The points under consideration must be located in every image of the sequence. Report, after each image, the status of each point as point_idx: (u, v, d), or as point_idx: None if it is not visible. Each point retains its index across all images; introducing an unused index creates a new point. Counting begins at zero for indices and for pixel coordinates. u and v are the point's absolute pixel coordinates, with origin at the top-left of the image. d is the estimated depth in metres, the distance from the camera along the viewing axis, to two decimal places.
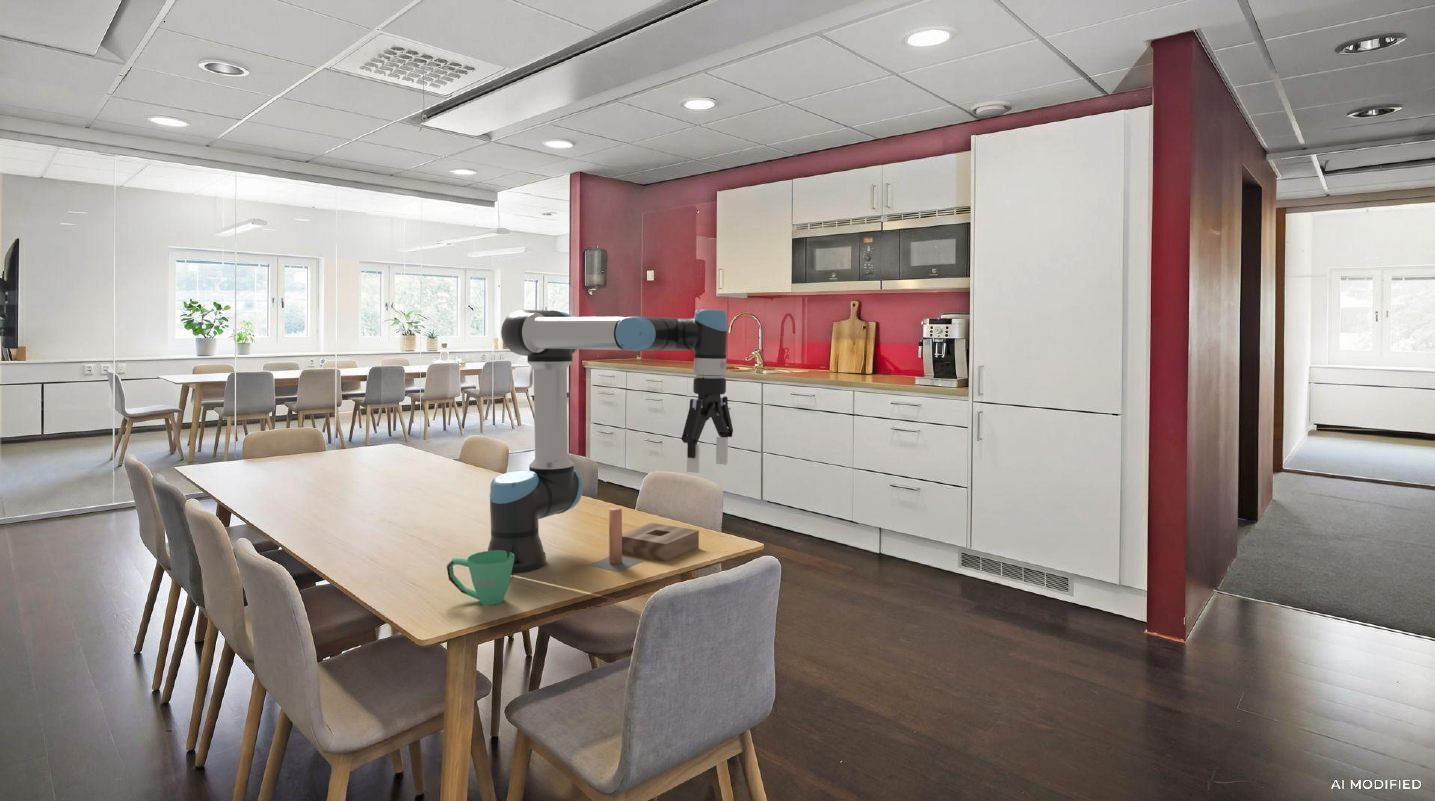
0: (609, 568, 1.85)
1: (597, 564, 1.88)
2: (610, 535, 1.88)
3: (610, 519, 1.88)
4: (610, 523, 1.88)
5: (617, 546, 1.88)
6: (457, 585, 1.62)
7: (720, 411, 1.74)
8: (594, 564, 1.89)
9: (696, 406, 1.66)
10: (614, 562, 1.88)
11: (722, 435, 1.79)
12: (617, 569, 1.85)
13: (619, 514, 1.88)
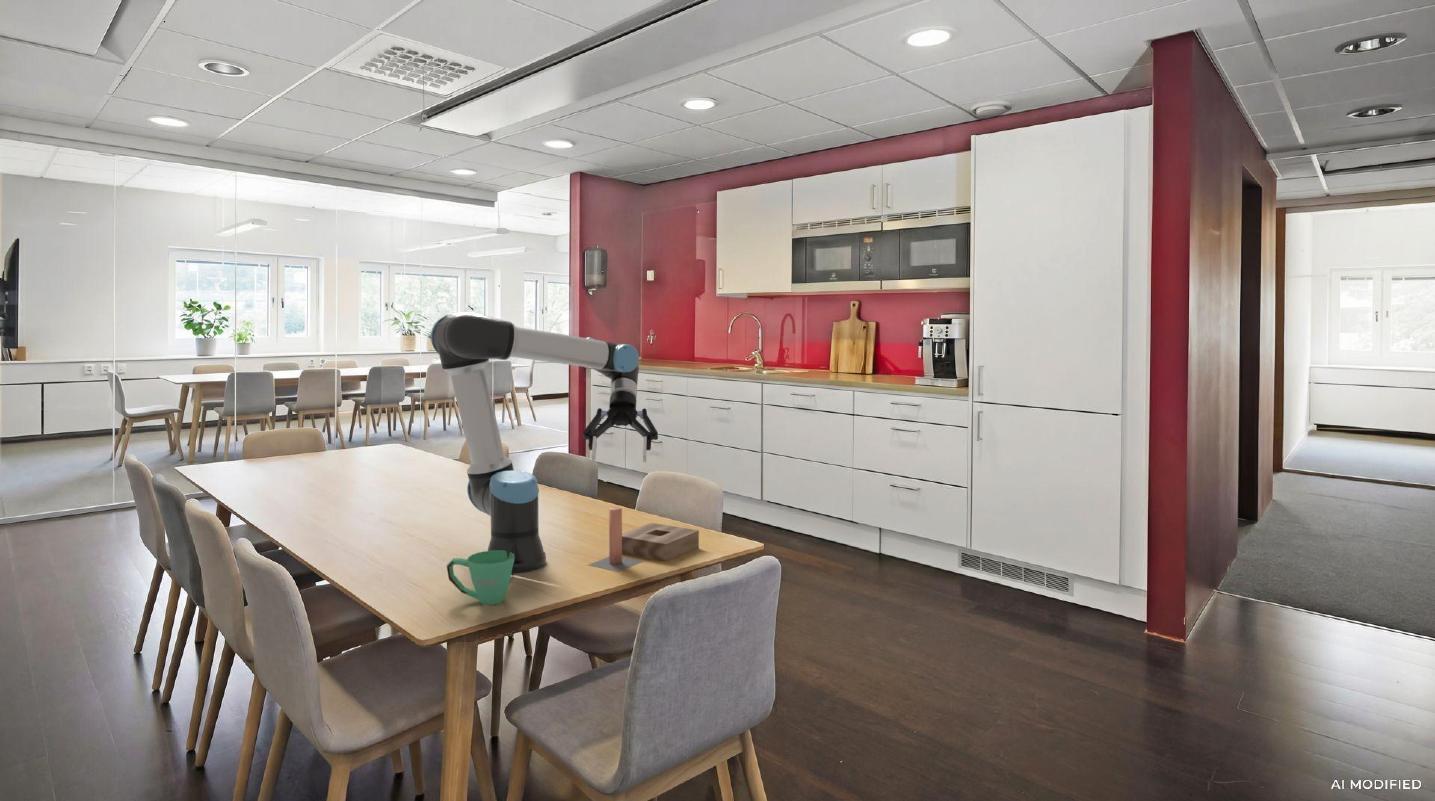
0: (609, 568, 1.85)
1: (597, 564, 1.88)
2: (610, 535, 1.88)
3: (610, 519, 1.88)
4: (610, 523, 1.88)
5: (617, 546, 1.88)
6: (457, 585, 1.62)
7: None
8: (594, 564, 1.89)
9: None
10: (614, 562, 1.88)
11: None
12: (617, 569, 1.85)
13: (619, 514, 1.88)
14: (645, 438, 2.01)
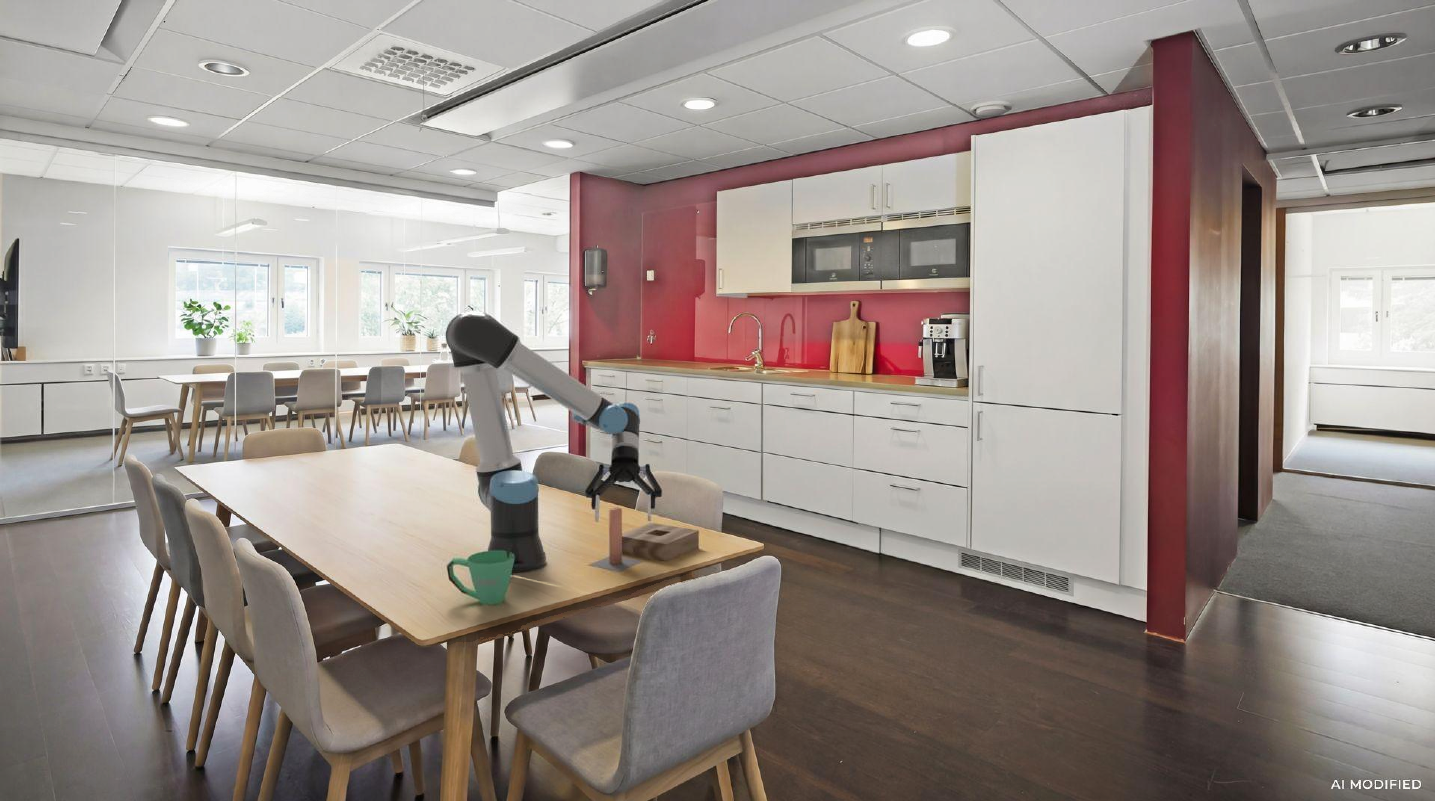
0: (609, 568, 1.85)
1: (597, 564, 1.88)
2: (610, 535, 1.88)
3: (610, 519, 1.88)
4: (610, 523, 1.88)
5: (617, 546, 1.88)
6: (457, 585, 1.62)
7: None
8: (594, 564, 1.89)
9: None
10: (614, 562, 1.88)
11: None
12: (617, 569, 1.85)
13: (619, 514, 1.88)
14: (649, 496, 1.97)
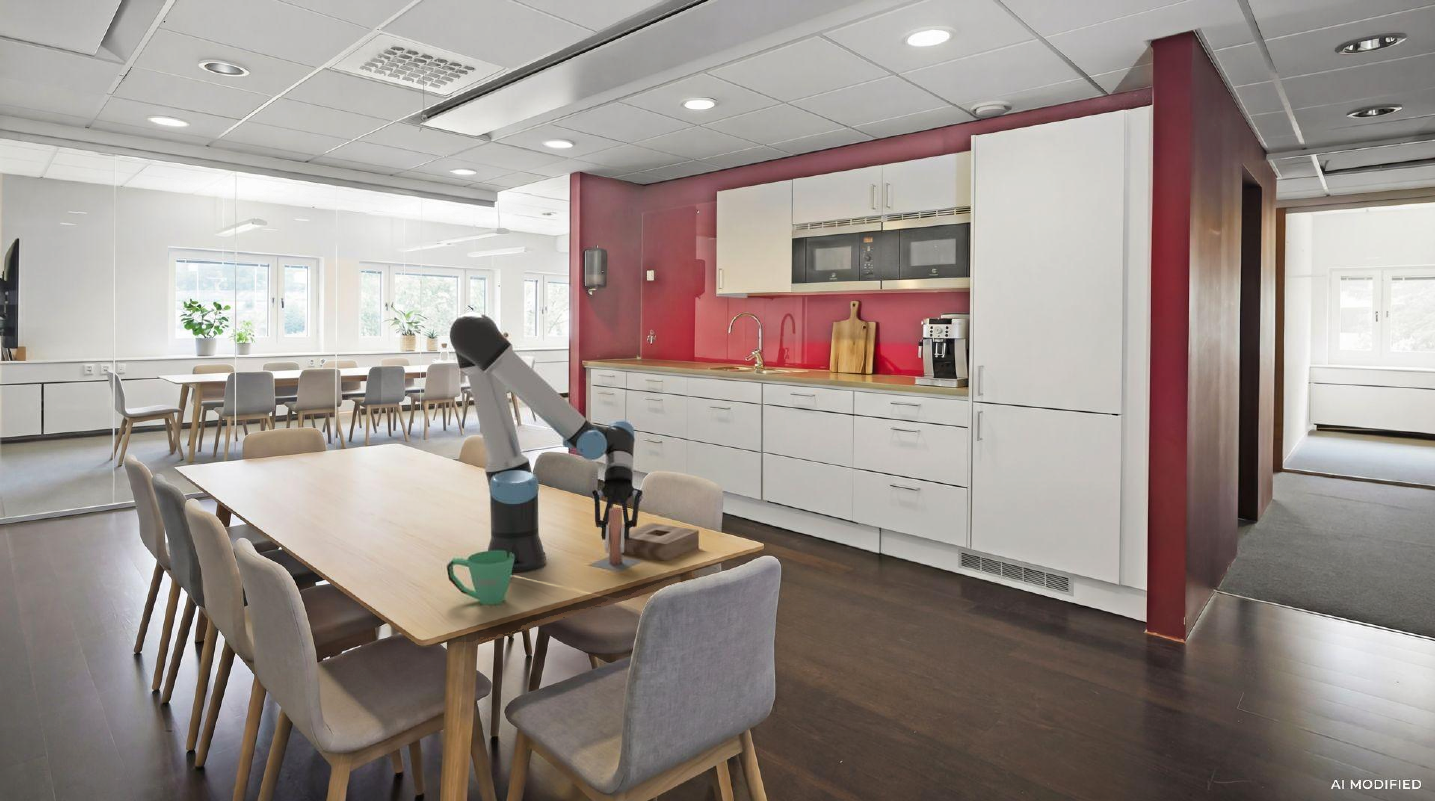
0: (609, 568, 1.85)
1: (597, 564, 1.88)
2: (610, 535, 1.88)
3: (610, 519, 1.88)
4: (610, 523, 1.88)
5: (617, 546, 1.88)
6: (457, 585, 1.62)
7: None
8: (594, 564, 1.89)
9: (640, 498, 1.96)
10: (614, 562, 1.88)
11: None
12: (617, 569, 1.85)
13: (619, 514, 1.88)
14: (623, 526, 1.88)
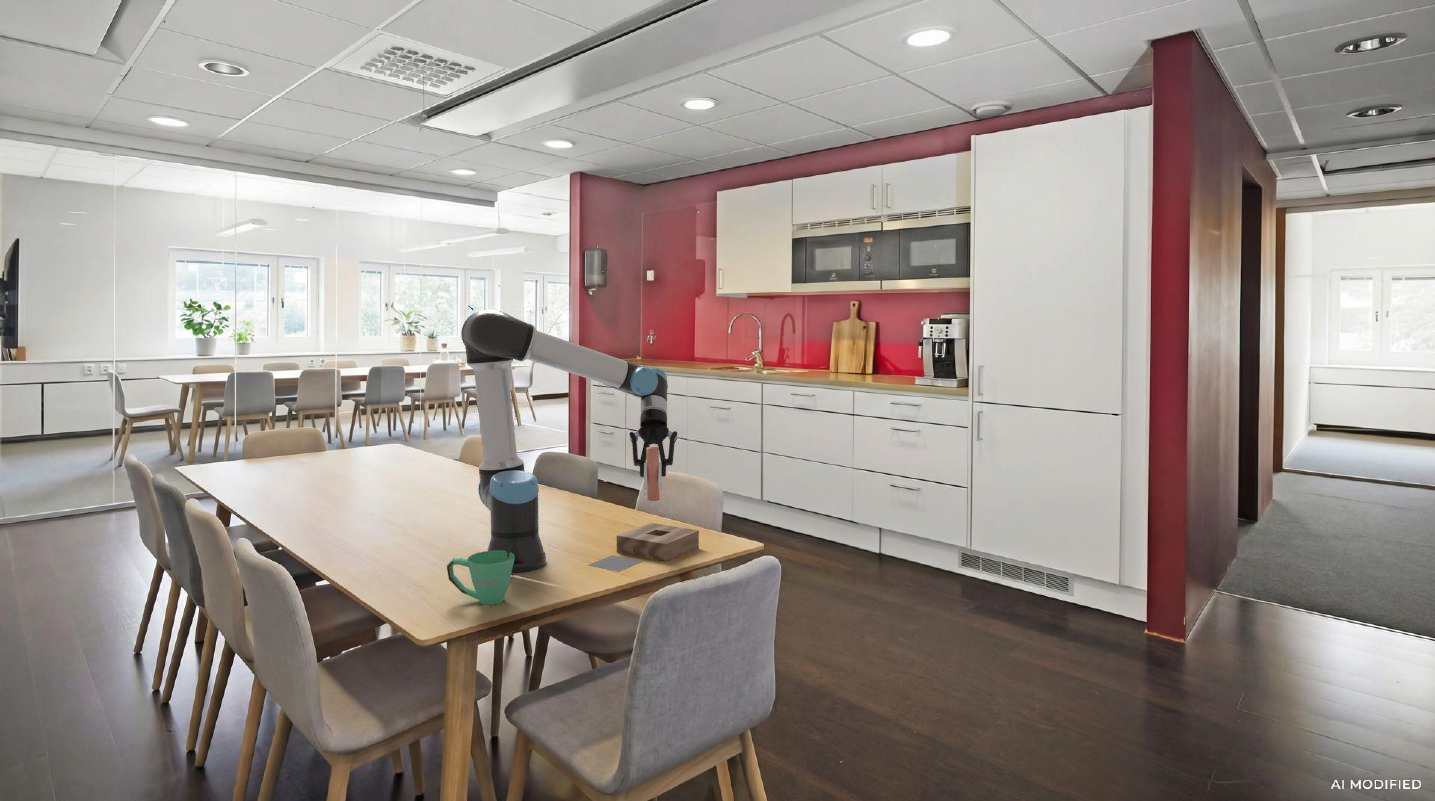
0: (609, 568, 1.85)
1: (597, 564, 1.88)
2: (648, 472, 1.97)
3: (648, 457, 1.97)
4: (648, 461, 1.97)
5: (654, 483, 1.97)
6: (457, 585, 1.62)
7: None
8: (594, 564, 1.89)
9: (675, 439, 2.05)
10: (652, 498, 1.97)
11: None
12: (617, 569, 1.85)
13: (656, 452, 1.97)
14: (660, 464, 1.97)
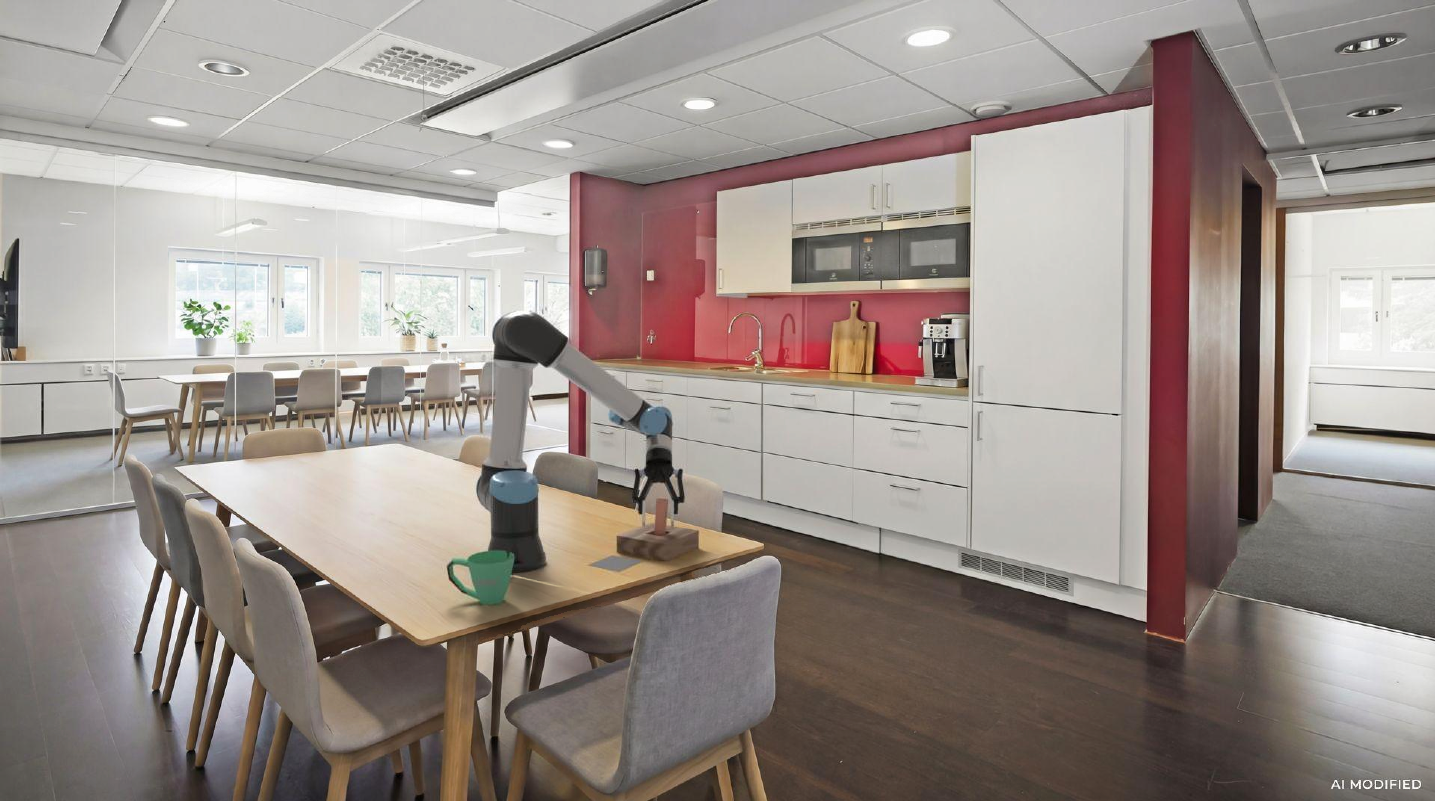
0: (609, 568, 1.85)
1: (597, 564, 1.88)
2: (656, 524, 2.01)
3: (657, 509, 2.01)
4: (656, 512, 2.01)
5: (661, 535, 2.01)
6: (457, 585, 1.62)
7: None
8: (594, 564, 1.89)
9: (681, 476, 2.09)
10: None
11: None
12: (617, 569, 1.85)
13: (665, 504, 2.01)
14: (672, 502, 2.01)
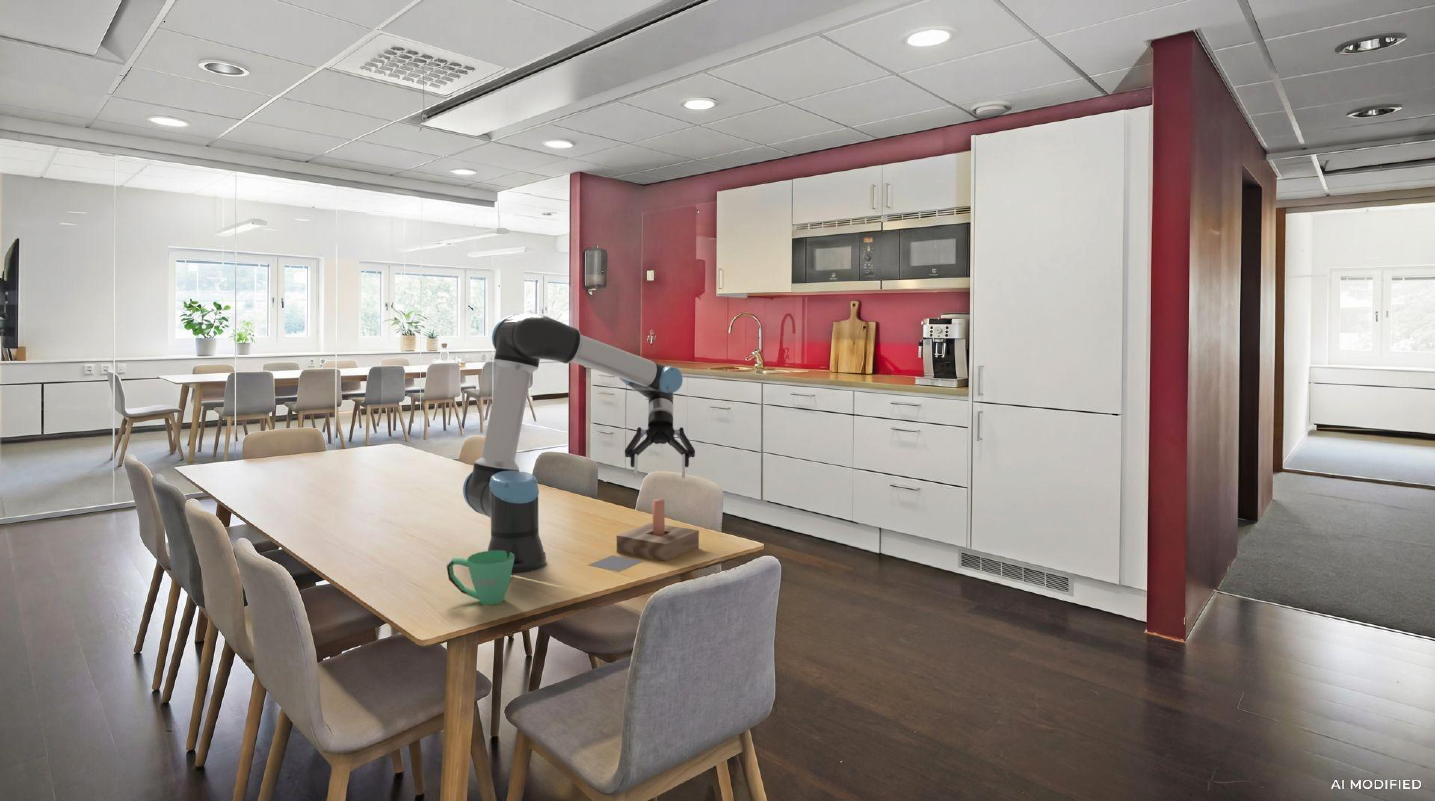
0: (609, 568, 1.85)
1: (597, 564, 1.88)
2: (654, 524, 2.01)
3: (654, 509, 2.01)
4: (654, 513, 2.01)
5: (660, 535, 2.01)
6: (457, 585, 1.62)
7: None
8: (594, 564, 1.89)
9: None
10: None
11: None
12: (617, 569, 1.85)
13: (662, 505, 2.01)
14: (683, 456, 2.14)
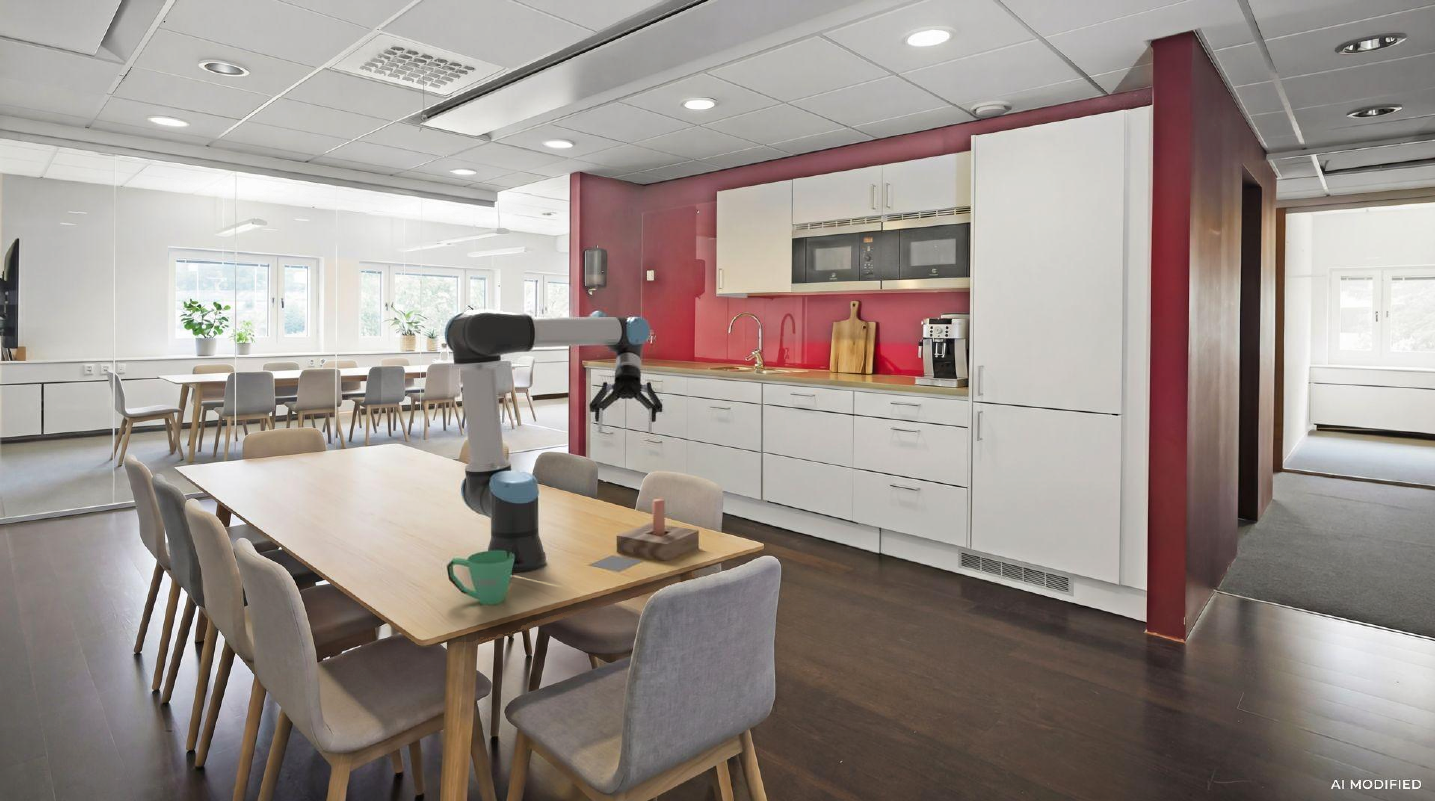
0: (609, 568, 1.85)
1: (597, 564, 1.88)
2: (654, 524, 2.01)
3: (654, 510, 2.01)
4: (654, 513, 2.01)
5: (660, 535, 2.01)
6: (457, 585, 1.62)
7: None
8: (594, 564, 1.89)
9: None
10: None
11: None
12: (617, 569, 1.85)
13: (662, 505, 2.00)
14: (650, 410, 2.06)
